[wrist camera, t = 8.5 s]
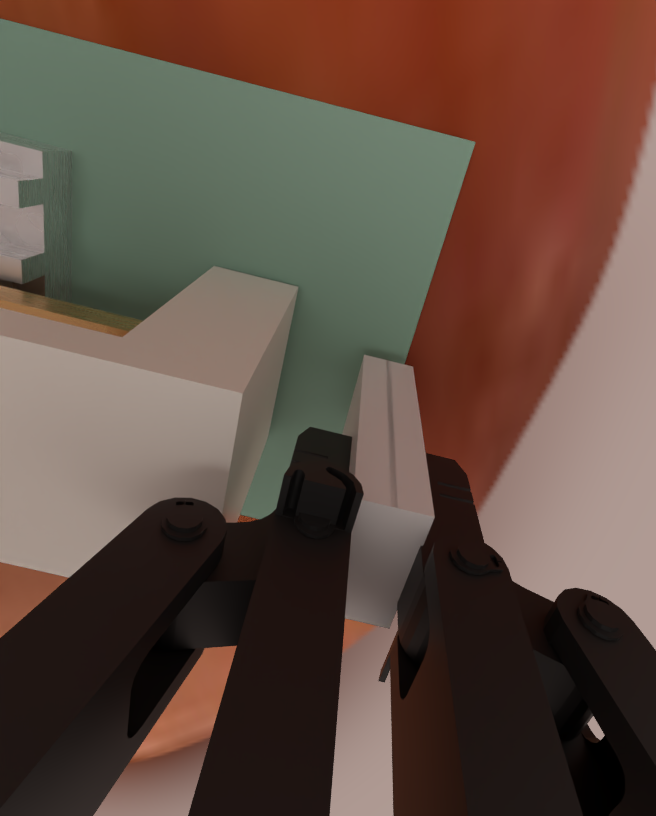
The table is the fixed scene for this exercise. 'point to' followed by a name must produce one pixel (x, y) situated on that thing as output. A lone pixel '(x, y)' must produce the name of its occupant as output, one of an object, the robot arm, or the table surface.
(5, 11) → the table surface
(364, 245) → the board
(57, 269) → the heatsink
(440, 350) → the table surface
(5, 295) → the strap
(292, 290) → the latch
